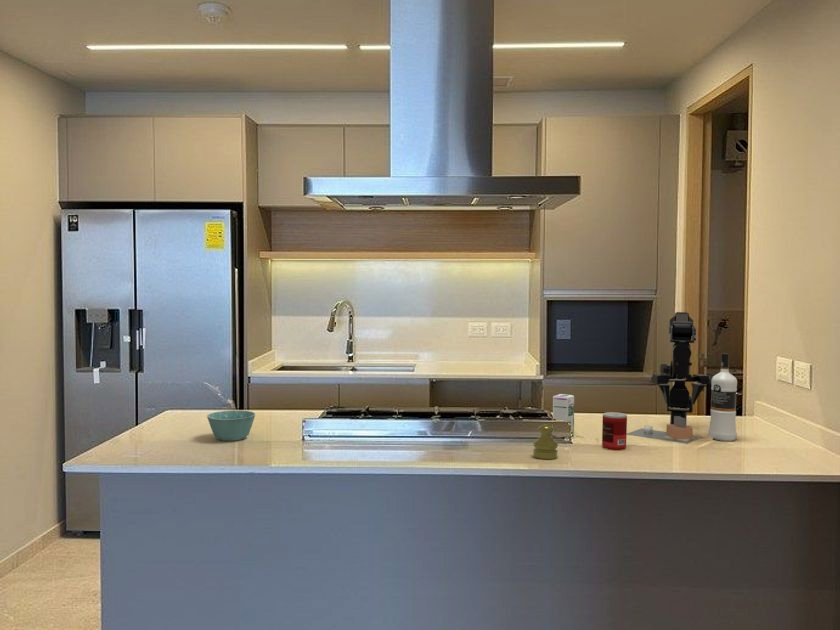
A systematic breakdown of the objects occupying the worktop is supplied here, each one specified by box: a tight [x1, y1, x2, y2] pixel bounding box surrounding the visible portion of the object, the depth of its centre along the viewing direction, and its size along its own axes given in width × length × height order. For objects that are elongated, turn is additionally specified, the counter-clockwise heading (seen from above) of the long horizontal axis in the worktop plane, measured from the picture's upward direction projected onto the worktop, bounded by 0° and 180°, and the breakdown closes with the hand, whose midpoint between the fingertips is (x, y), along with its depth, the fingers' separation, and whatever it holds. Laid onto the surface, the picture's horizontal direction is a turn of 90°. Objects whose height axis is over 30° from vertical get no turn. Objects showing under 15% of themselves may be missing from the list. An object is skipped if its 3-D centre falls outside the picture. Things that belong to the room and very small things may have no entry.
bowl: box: [206, 409, 256, 442], centre depth 249 cm, size 16×16×8 cm
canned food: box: [601, 411, 628, 451], centre depth 243 cm, size 8×8×11 cm
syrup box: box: [552, 393, 575, 437], centre depth 260 cm, size 6×6×14 cm
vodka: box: [707, 352, 738, 442], centre depth 258 cm, size 9×9×30 cm
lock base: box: [627, 425, 703, 445], centre depth 258 cm, size 14×22×4 cm, turn 50°
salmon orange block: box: [665, 416, 694, 439], centre depth 255 cm, size 6×6×7 cm
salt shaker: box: [532, 424, 559, 460], centre depth 229 cm, size 7×7×10 cm
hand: (680, 404), depth 254 cm, fingers open, 9 cm apart
